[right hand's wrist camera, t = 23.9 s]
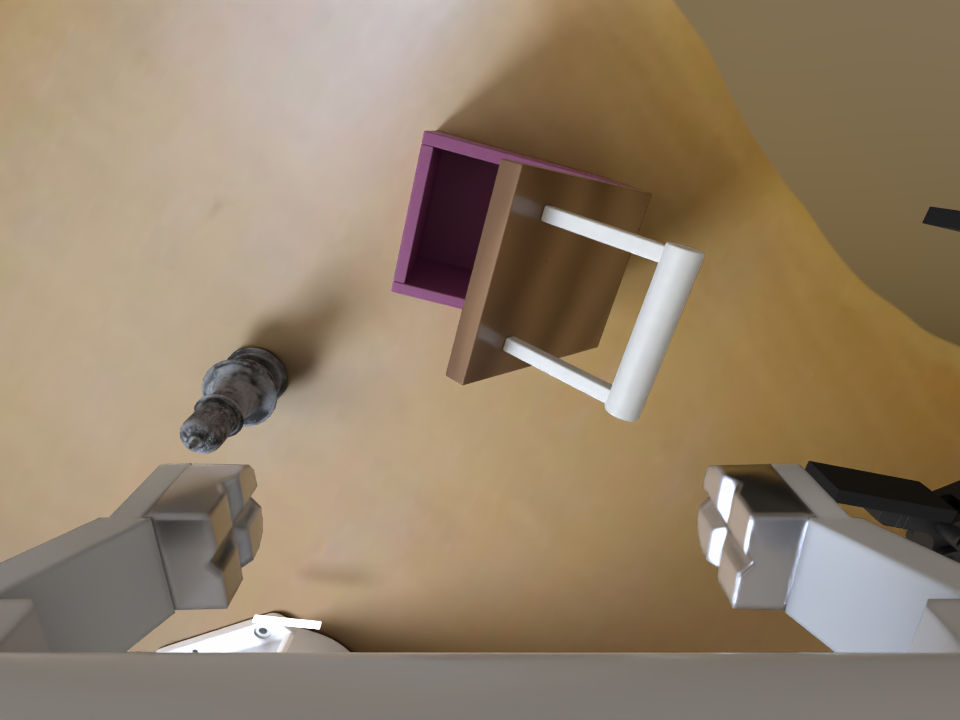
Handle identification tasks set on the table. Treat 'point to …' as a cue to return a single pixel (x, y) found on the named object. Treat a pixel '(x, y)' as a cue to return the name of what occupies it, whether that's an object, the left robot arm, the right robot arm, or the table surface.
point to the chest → (452, 215)
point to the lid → (567, 284)
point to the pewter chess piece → (234, 398)
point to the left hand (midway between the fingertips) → (877, 360)
